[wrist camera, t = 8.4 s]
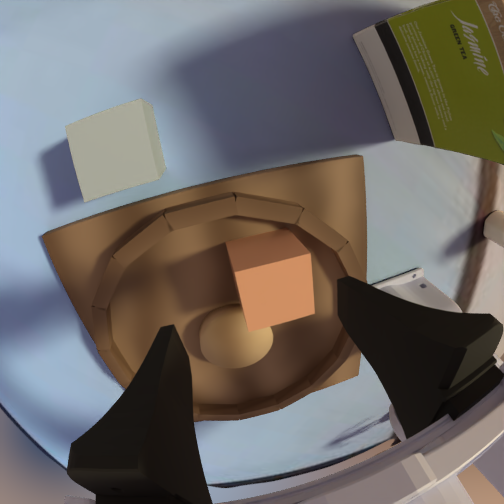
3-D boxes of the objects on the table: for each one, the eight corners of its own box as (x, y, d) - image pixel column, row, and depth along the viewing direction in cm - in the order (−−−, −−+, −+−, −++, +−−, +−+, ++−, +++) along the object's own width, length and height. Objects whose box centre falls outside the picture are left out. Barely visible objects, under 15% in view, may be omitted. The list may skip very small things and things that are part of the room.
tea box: (448, 18, 16) (560, 10, 3) (478, 103, 21) (588, 126, 7) (345, 33, 16) (500, -17, 3) (391, 143, 21) (547, 189, 8)
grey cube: (152, 105, 17) (141, 98, 13) (166, 168, 19) (159, 179, 15) (91, 125, 16) (65, 126, 12) (106, 186, 18) (84, 202, 14)
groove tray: (356, 154, 21) (373, 158, 18) (354, 369, 32) (363, 383, 29) (47, 231, 18) (33, 243, 16) (156, 421, 29) (156, 437, 27)
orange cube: (287, 227, 21) (310, 253, 17) (293, 280, 23) (314, 313, 19) (225, 241, 21) (234, 272, 16) (237, 295, 23) (248, 332, 18)
